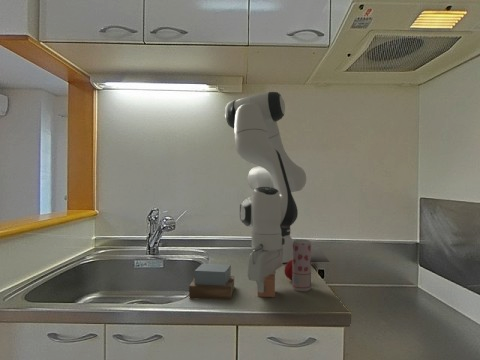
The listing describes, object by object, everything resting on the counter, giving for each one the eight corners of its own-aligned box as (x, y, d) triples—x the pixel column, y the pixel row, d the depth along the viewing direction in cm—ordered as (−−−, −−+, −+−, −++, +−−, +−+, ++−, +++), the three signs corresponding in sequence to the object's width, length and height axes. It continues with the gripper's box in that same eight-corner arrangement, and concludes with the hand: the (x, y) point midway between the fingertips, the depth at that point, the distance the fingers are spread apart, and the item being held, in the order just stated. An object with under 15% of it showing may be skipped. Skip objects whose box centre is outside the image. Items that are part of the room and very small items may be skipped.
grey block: (202, 276, 123) (202, 263, 123) (230, 277, 122) (230, 264, 122) (194, 284, 114) (194, 270, 114) (225, 285, 113) (225, 272, 113)
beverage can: (288, 287, 124) (289, 239, 123) (304, 285, 126) (304, 238, 126) (298, 292, 118) (299, 243, 118) (314, 290, 121) (314, 241, 120)
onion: (288, 284, 127) (288, 259, 127) (281, 279, 132) (281, 256, 132) (304, 283, 128) (305, 258, 128) (297, 278, 134) (297, 255, 134)
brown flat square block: (196, 287, 125) (196, 275, 124) (234, 288, 124) (234, 275, 124) (189, 299, 113) (189, 286, 113) (230, 301, 112) (231, 287, 112)
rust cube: (258, 291, 120) (258, 274, 120) (274, 291, 119) (274, 275, 119) (257, 296, 115) (257, 279, 115) (274, 296, 114) (274, 279, 114)
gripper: (263, 249, 106) (263, 300, 106) (286, 237, 124) (286, 281, 125) (242, 247, 108) (242, 297, 109) (268, 236, 127) (267, 278, 127)
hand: (266, 288), depth 117 cm, fingers closed on rust cube, 6 cm apart
